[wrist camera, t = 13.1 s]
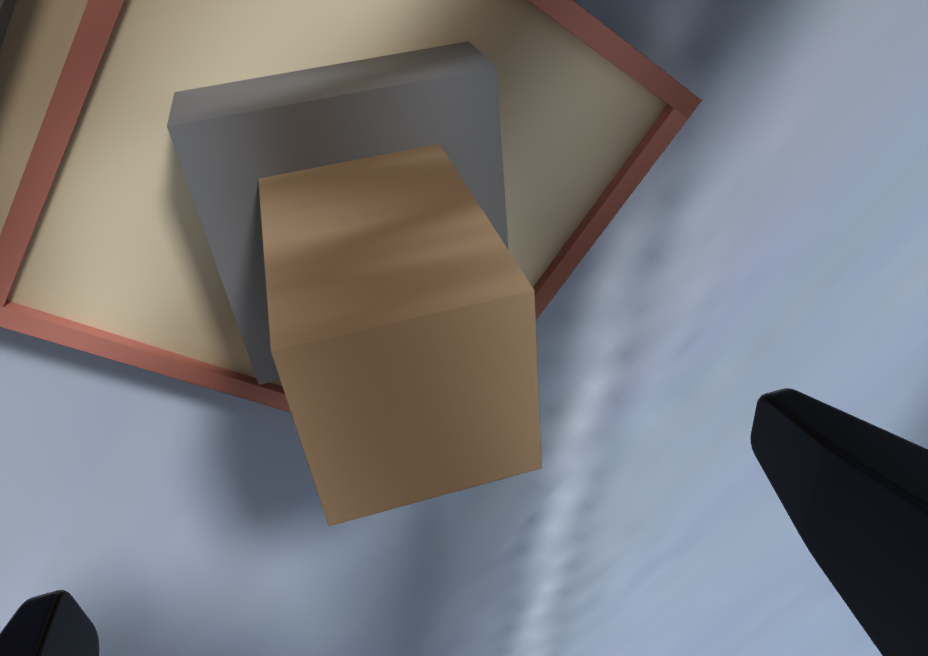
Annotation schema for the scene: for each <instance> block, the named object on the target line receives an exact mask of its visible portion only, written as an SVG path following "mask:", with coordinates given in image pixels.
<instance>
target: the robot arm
mask: <svg viewBox="0 0 928 656" xmlns="http://www.w3.org/2000/svg"><path fill="white" fill-rule="evenodd" d="M751 446H752V449H753V452H754V454H755V456H756V458H757V460H758V462H759V463H760V465H761V467H762V469H763V470H764V472H765V474H766V476H767V478H768V479H769V481H770V483H771V485H772V487H773V488H774V490H775V492H776V494H777V495H778V497H779V499H780V501H781V503H782V504H783V506H784V508H785V510H786V512H787V513H788V515H789V517H790V519H791V520H792V522H793V524H794V526H795V528H796V529H797V531H798V533H799V535H800V536H801V538H802V540H803V541H804V543H805V545H806V546H807V548H808V550H809V551H810V553H811V554H812V556H813V557H814V559H815V560H816V562H817V563H818V565H819V566H820V568H821V569H822V570H823V572H824V573H825V575H826V576H827V577H828V579H829V580H830V582H831V583H832V585H833V586H834V587H835V589H836V590H837V592H838V593H839V594H840V596H841V597H842V599H843V600H844V602H845V603H846V604H847V606H848V607H849V609H850V610H851V612H852V613H853V614H854V616H855V617H856V619H857V620H858V621H859V623H860V624H861V626H862V627H863V629H864V630H865V631H866V633H867V634H868V636H869V637H870V638H871V640H872V641H873V643H874V644H875V646H876V647H877V648H878V650H879V651H880V653H881V654H882V655H883V656H928V449H926V448H924V447H921V446H919V445H917V444H915V443H912V442H910V441H908V440H906V439H903V438H901V437H899V436H897V435H895V434H892V433H890V432H888V431H886V430H883V429H881V428H879V427H877V426H875V425H872V424H870V423H868V422H866V421H863V420H861V419H859V418H857V417H854V416H852V415H850V414H848V413H846V412H843V411H841V410H839V409H837V408H834V407H832V406H830V405H828V404H826V403H823V402H821V401H819V400H817V399H814V398H812V397H810V396H808V395H805V394H803V393H801V392H799V391H796V390H794V389H790V388H785V389H781V390H777V391H773V392H770V393H766V394H764V395H762V396H761V397H760V398H759V399H758V401H757V405H756V410H755V416H754V421H753V426H752V431H751ZM0 656H99V639H98V634H97V631H96V628H95V626H94V625H93V623H92V622H91V621H90V619H89V618H88V617H87V615H86V614H85V613H84V611H83V610H82V609H81V607H80V606H79V605H78V603H77V602H76V601H75V599H74V598H73V597H72V596H71V594H70V593H69V592H67V591H64V590H57V591H54V592H50V593H46V594H43V595H39V596H36V597H32V598H30V599H28V600H27V601H25V602H24V603H23V604H22V605H21V606H20V607H19V609H18V610H17V611H16V613H15V614H14V615H13V617H12V618H11V619H10V621H9V622H8V623H7V625H6V626H5V627H4V629H3V630H2V631H1V633H0Z"/></svg>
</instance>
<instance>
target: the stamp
mask: <svg viewBox="0 0 928 656" xmlns="http://www.w3.org/2000/svg"><path fill="white" fill-rule="evenodd" d="M167 128H168V131H169V134H170V137H171V140H172V143H173V145H174V148H175V151H176V154H177V157H178V159H179V162H180V165H181V168H182V171H183V173H184V176H185V179H186V182H187V185H188V187H189V190H190V193H191V196H192V199H193V201H194V204H195V207H196V210H197V213H198V215H199V218H200V221H201V224H202V227H203V229H204V232H205V235H206V238H207V241H208V243H209V246H210V249H211V252H212V255H213V257H214V260H215V263H216V266H217V269H218V272H219V274H220V277H221V280H222V283H223V286H224V288H225V291H226V294H227V297H228V300H229V302H230V305H231V308H232V311H233V314H234V316H235V319H236V322H237V325H238V328H239V330H240V333H241V336H242V339H243V342H244V344H245V347H246V350H247V353H248V356H249V358H250V361H251V364H252V367H253V370H254V372H255V375H256V378H257V381H258V384H259V385H261V384H265V383H270V382H274V381H278V380H281V383H282V386H283V389H284V392H285V395H286V398H287V401H288V404H289V407H290V410H291V413H292V416H293V419H294V422H295V425H296V429H297V432H298V435H299V438H300V441H301V444H302V447H303V450H304V453H305V456H306V459H307V462H308V465H309V468H310V471H311V474H312V477H313V480H314V483H315V486H316V489H317V492H318V495H319V498H320V501H321V504H322V507H323V510H324V513H325V516H326V519H327V522H328V525H329V526H332V525H335V524H339V523H343V522H346V521H350V520H354V519H357V518H361V517H365V516H368V515H372V514H376V513H379V512H383V511H387V510H390V509H394V508H398V507H401V506H405V505H409V504H412V503H416V502H420V501H423V500H427V499H431V498H434V497H438V496H442V495H445V494H449V493H453V492H456V491H460V490H464V489H467V488H471V487H475V486H478V485H482V484H486V483H489V482H493V481H497V480H500V479H504V478H508V477H511V476H515V475H519V474H522V473H526V472H530V471H533V470H537V469H541V468H542V460H541V437H540V413H539V389H538V366H537V342H536V318H535V295H534V289H533V287H532V286H531V284H530V283H529V281H528V280H527V278H526V276H525V275H524V273H523V272H522V270H521V269H520V267H519V266H518V264H517V263H516V261H515V259H514V258H513V256H512V255H511V253H510V252H509V248H508V233H507V217H506V202H505V187H504V172H503V156H502V141H501V126H500V111H499V95H498V80H497V67H496V66H495V65H494V64H493V63H492V62H491V61H489V60H488V59H487V58H486V57H485V56H484V55H483V54H482V53H481V52H480V51H479V50H478V49H476V48H475V47H474V46H473V45H472V44H471V43H470V42H469V41H467V42H461V43H455V44H449V45H444V46H438V47H432V48H426V49H421V50H415V51H409V52H403V53H397V54H392V55H386V56H380V57H374V58H369V59H363V60H357V61H351V62H345V63H340V64H334V65H328V66H322V67H316V68H311V69H305V70H299V71H293V72H288V73H282V74H276V75H270V76H264V77H259V78H253V79H247V80H241V81H236V82H230V83H224V84H218V85H212V86H207V87H201V88H195V89H189V90H184V91H178V92H174V96H173V100H172V105H171V109H170V114H169V119H168V123H167Z"/></svg>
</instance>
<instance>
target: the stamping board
mask: <svg viewBox="0 0 928 656" xmlns="http://www.w3.org/2000/svg"><path fill="white" fill-rule="evenodd" d="M467 41H469V42H470V43H471V44H472V45H473V46H474V47H475V48H476V49H478V50H479V51H480V52H481V53H482V54H483V55H484V56H485V57H486V58H487V59H488V60H489V61H491V62H492V63H493V64H494V65H495V66H496V67H497V80H498V95H499V111H500V126H501V141H502V156H503V172H504V187H505V202H506V217H507V233H508V248H509V252H510V253H511V255H512V256H513V258H514V259H515V261H516V263H517V264H518V266H519V267H520V269H521V270H522V272H523V273H524V275H525V276H526V278H527V280H528V281H529V283H530V284H531V286H532V287H533V289H534V295H535V318H536V319H537V318H538V317H539V315H540V314H541V313H542V311H543V310H544V309H545V307H546V306H547V305H548V303H549V302H550V301H551V299H552V298H553V297H554V295H555V294H556V293H557V291H558V290H559V289H560V287H561V286H562V285H563V283H564V282H565V281H566V279H567V278H568V277H569V276H570V274H571V273H572V272H573V270H574V269H575V268H576V266H577V265H578V264H579V262H580V261H581V260H582V258H583V257H584V256H585V254H586V253H587V252H588V250H589V249H590V248H591V246H592V245H593V244H594V242H595V241H596V240H597V238H598V237H599V236H600V234H601V233H602V232H603V231H604V229H605V228H606V227H607V225H608V224H609V223H610V221H611V220H612V219H613V217H614V216H615V215H616V213H617V212H618V211H619V209H620V208H621V207H622V205H623V204H624V203H625V201H626V200H627V199H628V197H629V196H630V195H631V193H632V192H633V191H634V190H635V188H636V187H637V186H638V184H639V183H640V182H641V180H642V179H643V178H644V176H645V175H646V174H647V172H648V171H649V170H650V168H651V167H652V166H653V164H654V163H655V162H656V160H657V159H658V158H659V156H660V155H661V154H662V152H663V151H664V150H665V149H666V147H667V146H668V145H669V143H670V142H671V141H672V139H673V138H674V137H675V135H676V134H677V133H678V131H679V130H680V129H681V127H682V126H683V125H684V123H685V122H686V121H687V119H688V118H689V117H690V115H691V114H692V113H693V111H694V110H695V109H696V107H697V106H698V105H699V104H700V102H701V101H702V100H701V99H700V98H698V97H697V96H696V95H694V94H693V93H692V92H690V91H689V90H688V89H687V88H685V87H684V86H683V85H681V84H680V83H679V82H678V81H676V80H675V79H674V78H672V77H671V76H670V75H669V74H667V73H666V72H665V71H663V70H662V69H661V68H659V67H658V66H657V65H656V64H654V63H653V62H652V61H650V60H649V59H648V58H647V57H645V56H644V55H643V54H641V53H640V52H639V51H638V50H636V49H635V48H634V47H632V46H631V45H630V44H628V43H627V42H626V41H625V40H623V39H622V38H621V37H619V36H618V35H617V34H616V33H614V32H613V31H612V30H610V29H609V28H608V27H607V26H605V25H604V24H603V23H601V22H600V21H599V20H597V19H596V18H595V17H594V16H592V15H591V14H590V13H588V12H587V11H586V10H585V9H583V8H582V7H581V6H579V5H578V4H577V3H576V2H574V1H573V0H0V327H3V328H7V329H10V330H13V331H17V332H20V333H24V334H27V335H30V336H34V337H37V338H40V339H44V340H47V341H51V342H54V343H57V344H61V345H64V346H68V347H71V348H74V349H78V350H81V351H85V352H88V353H91V354H95V355H98V356H101V357H105V358H108V359H112V360H115V361H118V362H122V363H125V364H129V365H132V366H135V367H139V368H142V369H145V370H149V371H152V372H156V373H159V374H162V375H166V376H169V377H173V378H176V379H179V380H183V381H186V382H189V383H193V384H196V385H200V386H203V387H206V388H210V389H213V390H217V391H220V392H223V393H227V394H230V395H233V396H237V397H240V398H244V399H247V400H250V401H254V402H257V403H261V404H264V405H267V406H271V407H274V408H278V409H281V410H284V411H288V412H291V410H290V407H289V404H288V401H287V398H286V395H285V392H284V389H283V386H282V383H281V380H278V381H274V382H270V383H265V384H261V385H259V384H258V381H257V378H256V375H255V372H254V370H253V367H252V364H251V361H250V358H249V356H248V353H247V350H246V347H245V344H244V342H243V339H242V336H241V333H240V330H239V328H238V325H237V322H236V319H235V316H234V314H233V311H232V308H231V305H230V302H229V300H228V297H227V294H226V291H225V288H224V286H223V283H222V280H221V277H220V274H219V272H218V269H217V266H216V263H215V260H214V257H213V255H212V252H211V249H210V246H209V243H208V241H207V238H206V235H205V232H204V229H203V227H202V224H201V221H200V218H199V215H198V213H197V210H196V207H195V204H194V201H193V199H192V196H191V193H190V190H189V187H188V185H187V182H186V179H185V176H184V173H183V171H182V168H181V165H180V162H179V159H178V157H177V154H176V151H175V148H174V145H173V143H172V140H171V137H170V134H169V131H168V128H167V123H168V119H169V114H170V109H171V105H172V100H173V96H174V92H178V91H184V90H189V89H195V88H201V87H207V86H212V85H218V84H224V83H230V82H236V81H241V80H247V79H253V78H259V77H264V76H270V75H276V74H282V73H288V72H293V71H299V70H305V69H311V68H316V67H322V66H328V65H334V64H340V63H345V62H351V61H357V60H363V59H369V58H374V57H380V56H386V55H392V54H397V53H403V52H409V51H415V50H421V49H426V48H432V47H438V46H444V45H449V44H455V43H461V42H467Z"/></svg>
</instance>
